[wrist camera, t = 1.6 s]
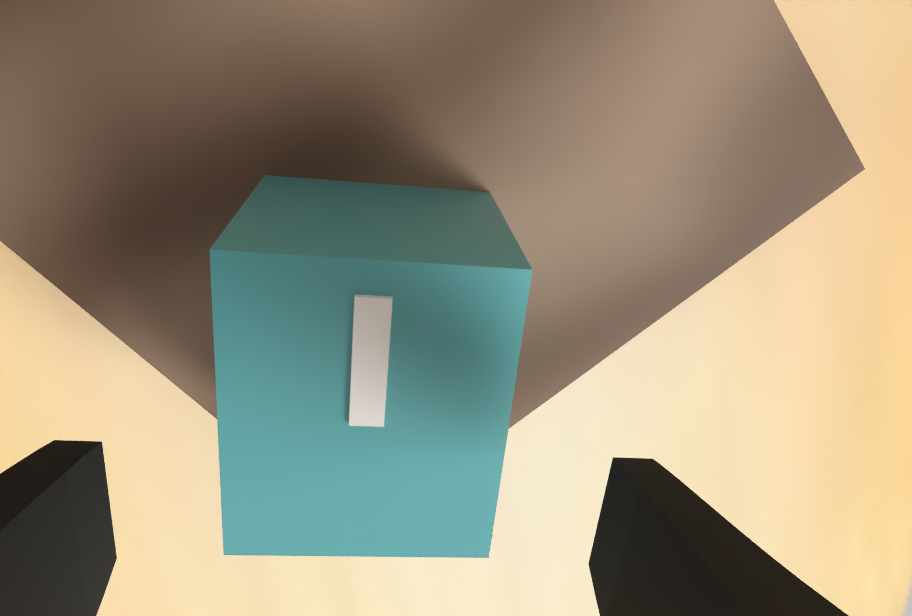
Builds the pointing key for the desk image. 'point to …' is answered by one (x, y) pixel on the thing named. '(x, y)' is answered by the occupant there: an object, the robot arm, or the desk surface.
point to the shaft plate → (409, 147)
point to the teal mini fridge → (364, 368)
